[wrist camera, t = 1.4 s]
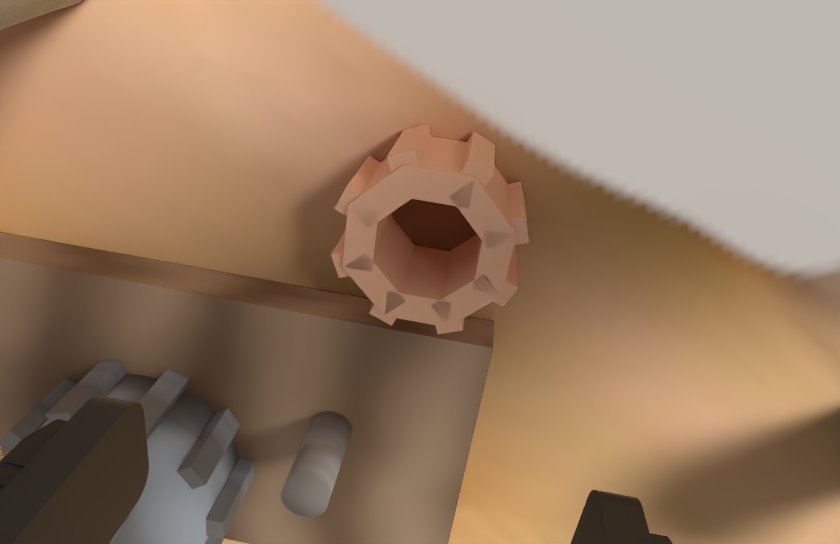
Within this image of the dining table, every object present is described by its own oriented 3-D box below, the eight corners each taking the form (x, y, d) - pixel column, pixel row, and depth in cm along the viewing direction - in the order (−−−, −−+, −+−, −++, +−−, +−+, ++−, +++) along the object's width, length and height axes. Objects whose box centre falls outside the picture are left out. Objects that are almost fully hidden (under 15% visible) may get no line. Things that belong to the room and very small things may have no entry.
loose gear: (539, 140, 21) (546, 174, 18) (504, 294, 24) (504, 349, 21) (364, 111, 22) (337, 138, 18) (350, 267, 25) (324, 316, 21)
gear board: (493, 321, 25) (490, 426, 19) (442, 547, 31) (428, 677, 26) (-10, 230, 26) (-156, 304, 20) (40, 466, 32) (-60, 574, 27)
